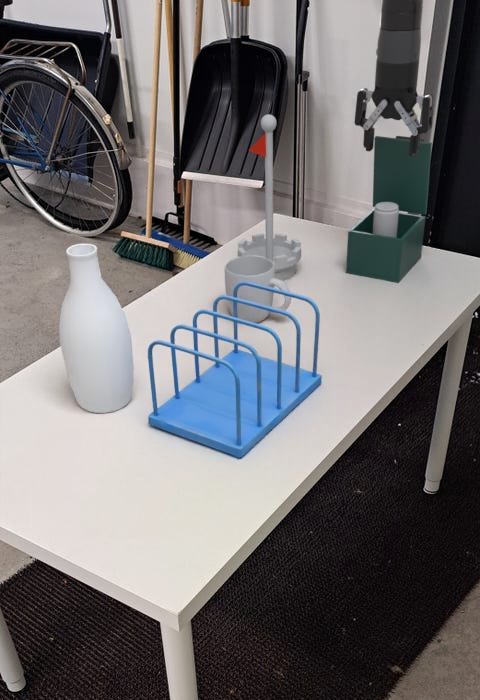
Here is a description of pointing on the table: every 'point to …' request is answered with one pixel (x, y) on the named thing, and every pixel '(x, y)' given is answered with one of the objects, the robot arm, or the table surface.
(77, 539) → the table surface
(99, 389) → the bottle
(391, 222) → the beverage can
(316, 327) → the file sorter
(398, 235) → the box
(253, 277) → the mug
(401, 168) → the lid
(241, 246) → the flag stand
